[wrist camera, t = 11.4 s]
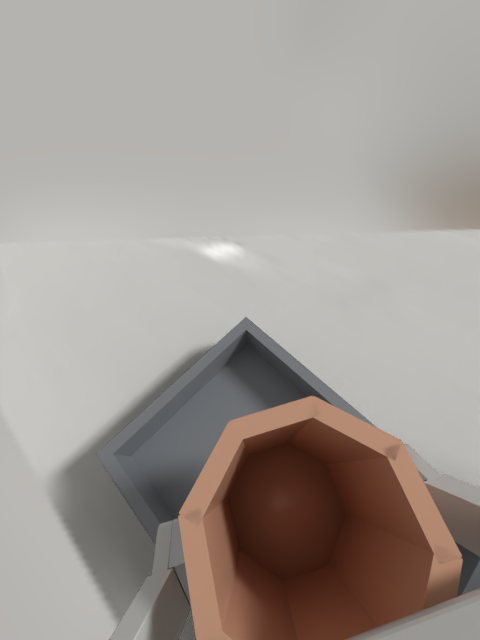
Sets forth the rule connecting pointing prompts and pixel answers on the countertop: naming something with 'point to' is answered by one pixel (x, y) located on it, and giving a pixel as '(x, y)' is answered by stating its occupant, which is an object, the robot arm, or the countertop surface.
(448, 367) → the countertop surface
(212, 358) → the tray
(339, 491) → the cup
